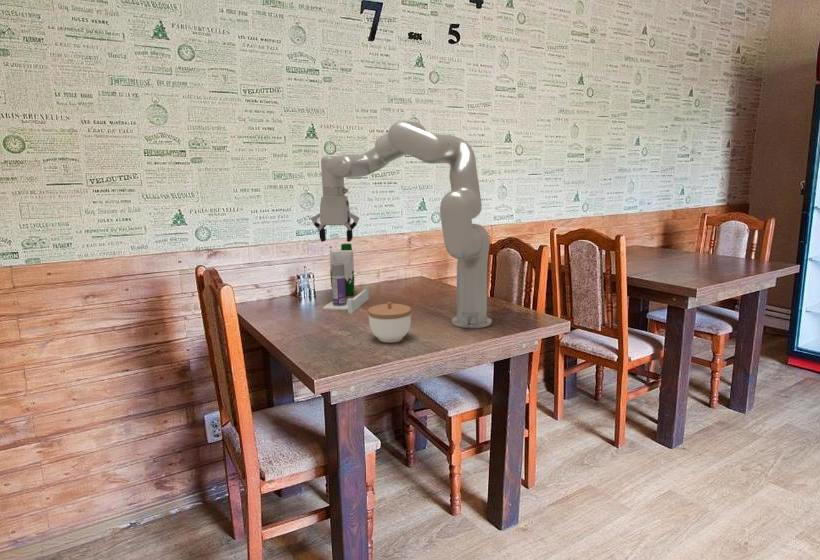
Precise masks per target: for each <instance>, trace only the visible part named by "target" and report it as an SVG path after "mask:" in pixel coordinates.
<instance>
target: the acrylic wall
mask: <svg viewBox="0 0 820 560" xmlns="http://www.w3.org/2000/svg"><path fill="white" fill-rule="evenodd" d="M369 300H370V286H369V285H364V286H363V290H362V291H360V292H359V293H357V295H354V296H353V298H346V302H347V304H348V310H347V314H348V315H349V314H354V312H355V311H357V310H358V309H359V308H361V306H362V305H364V304H365V303H366V302H368V301H369Z"/></svg>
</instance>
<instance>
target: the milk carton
mask: <svg viewBox="0 0 820 560" xmlns="http://www.w3.org/2000/svg"><path fill="white" fill-rule="evenodd" d="M334 263H343V264H344V272H345V290H346V297H355V268H354V267H355V265H354V250H353V249H352V243H341V244H340V248H339V247H337V248H331V249H329V272H330V273H329V275H330V284H331V287H332V267H331V264H334Z"/></svg>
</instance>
